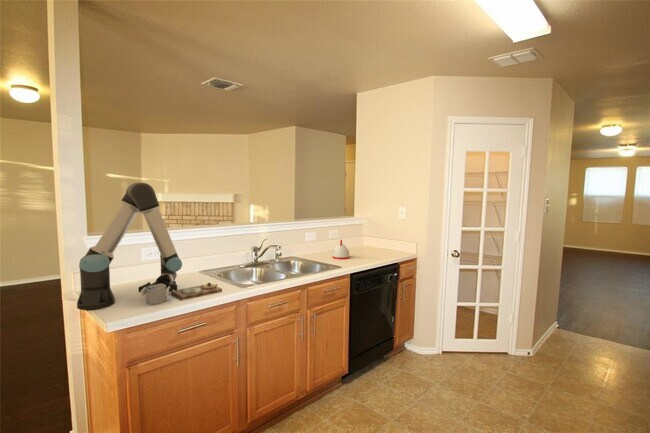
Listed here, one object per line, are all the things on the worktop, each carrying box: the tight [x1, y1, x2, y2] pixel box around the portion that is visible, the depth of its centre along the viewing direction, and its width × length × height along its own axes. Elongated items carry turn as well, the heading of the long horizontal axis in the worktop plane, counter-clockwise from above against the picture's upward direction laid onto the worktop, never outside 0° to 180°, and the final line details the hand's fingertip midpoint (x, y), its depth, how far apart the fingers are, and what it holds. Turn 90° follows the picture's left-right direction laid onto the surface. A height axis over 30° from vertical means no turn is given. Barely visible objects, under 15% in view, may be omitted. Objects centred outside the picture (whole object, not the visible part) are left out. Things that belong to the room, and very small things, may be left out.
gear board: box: [170, 282, 223, 301], centre depth 188 cm, size 22×14×4 cm, turn 135°
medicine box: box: [145, 284, 167, 307], centre depth 170 cm, size 8×4×9 cm, turn 147°
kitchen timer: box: [332, 239, 350, 261], centre depth 289 cm, size 14×14×15 cm
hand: (154, 293), depth 166 cm, fingers open, 10 cm apart
